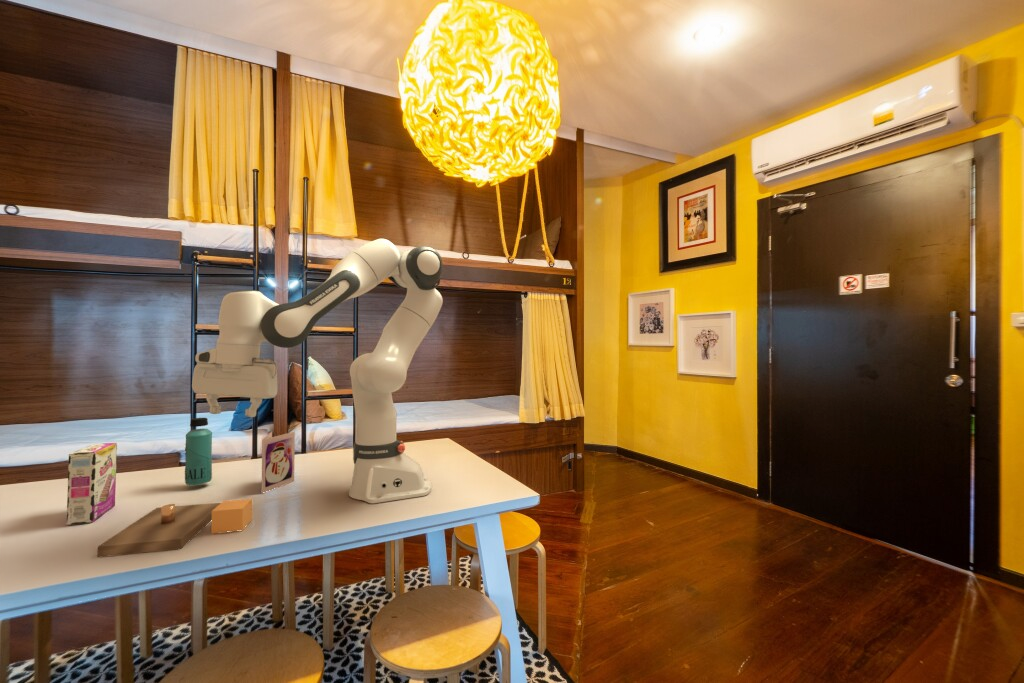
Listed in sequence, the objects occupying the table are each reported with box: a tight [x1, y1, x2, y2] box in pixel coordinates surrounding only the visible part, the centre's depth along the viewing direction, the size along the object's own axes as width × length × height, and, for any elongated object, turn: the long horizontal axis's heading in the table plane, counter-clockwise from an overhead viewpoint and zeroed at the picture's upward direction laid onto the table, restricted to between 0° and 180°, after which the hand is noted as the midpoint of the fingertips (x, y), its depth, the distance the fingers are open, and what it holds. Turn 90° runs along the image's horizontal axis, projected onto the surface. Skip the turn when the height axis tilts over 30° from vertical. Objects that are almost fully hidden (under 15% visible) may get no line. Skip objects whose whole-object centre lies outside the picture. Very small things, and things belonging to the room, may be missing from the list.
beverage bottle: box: [184, 417, 213, 486], centre depth 121 cm, size 6×7×20 cm
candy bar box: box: [66, 442, 118, 526], centre depth 101 cm, size 11×5×16 cm, turn 23°
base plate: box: [96, 502, 221, 558], centre depth 93 cm, size 14×20×2 cm
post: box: [161, 503, 176, 524], centre depth 93 cm, size 2×2×4 cm
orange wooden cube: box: [211, 498, 253, 534], centre depth 95 cm, size 6×6×5 cm
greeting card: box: [261, 431, 296, 494], centre depth 122 cm, size 11×7×15 cm, turn 163°
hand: (232, 415), depth 99 cm, fingers open, 8 cm apart
